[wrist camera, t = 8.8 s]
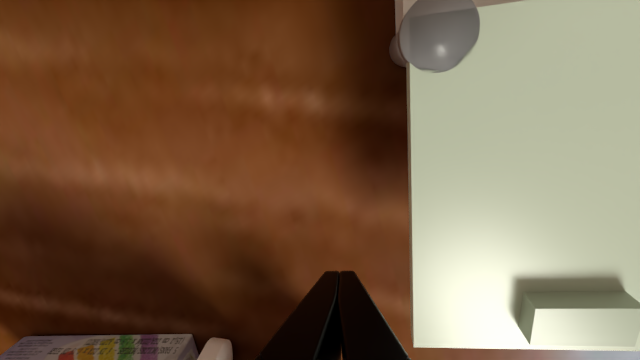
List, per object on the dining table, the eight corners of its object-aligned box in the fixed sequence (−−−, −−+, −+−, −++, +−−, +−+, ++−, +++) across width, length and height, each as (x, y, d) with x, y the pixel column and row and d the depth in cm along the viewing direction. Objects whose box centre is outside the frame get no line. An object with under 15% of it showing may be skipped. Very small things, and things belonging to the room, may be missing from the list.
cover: (710, 337, 14) (760, 374, 12) (405, 334, 16) (410, 365, 14) (886, -77, 8) (1015, -113, 7) (396, 0, 11) (404, -13, 9)
